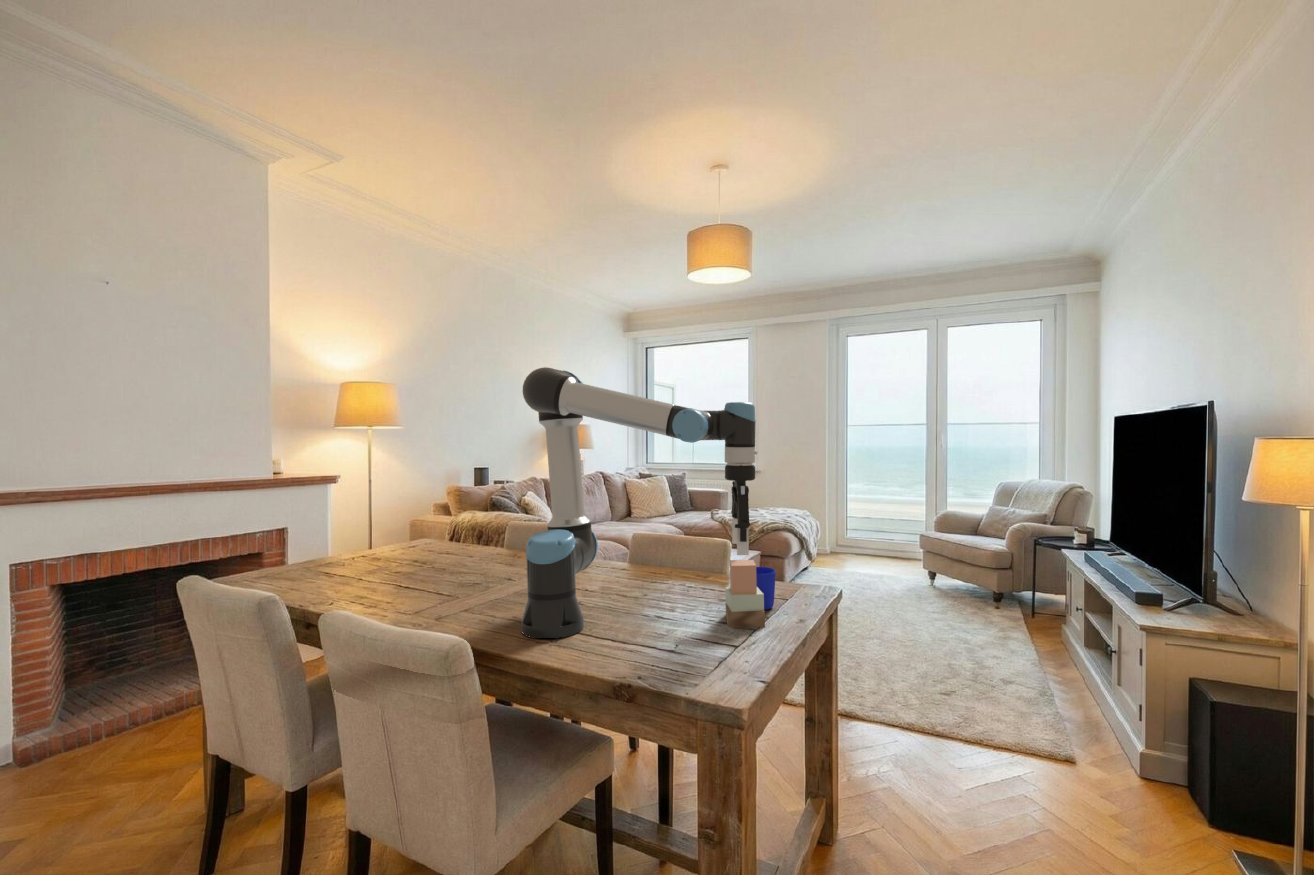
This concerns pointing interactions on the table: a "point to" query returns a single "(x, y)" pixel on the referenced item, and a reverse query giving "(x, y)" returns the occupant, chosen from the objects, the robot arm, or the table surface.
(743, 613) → the riser lower
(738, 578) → the clay block
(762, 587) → the mug
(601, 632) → the table surface
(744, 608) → the block
